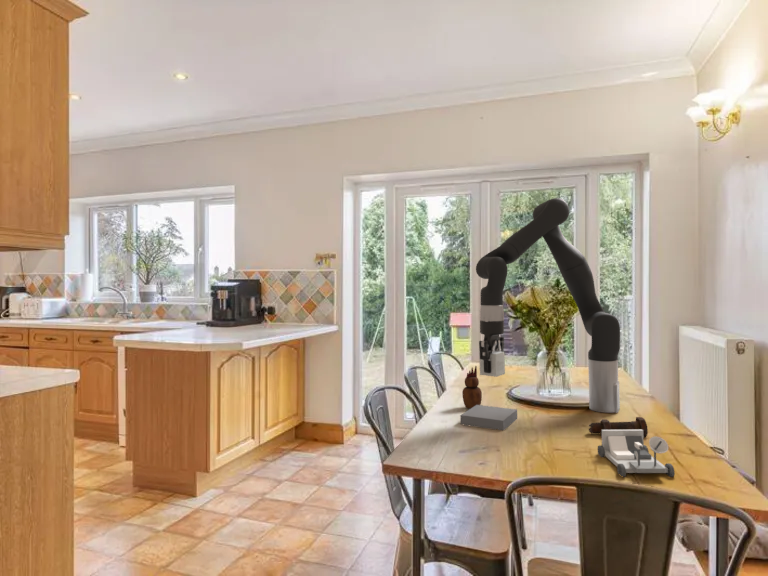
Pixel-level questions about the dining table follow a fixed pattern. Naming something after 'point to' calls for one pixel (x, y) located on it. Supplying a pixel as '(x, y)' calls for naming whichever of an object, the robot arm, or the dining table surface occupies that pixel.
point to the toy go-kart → (633, 452)
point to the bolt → (619, 426)
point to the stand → (489, 417)
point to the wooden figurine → (472, 390)
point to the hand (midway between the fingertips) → (492, 370)
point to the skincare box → (494, 364)
